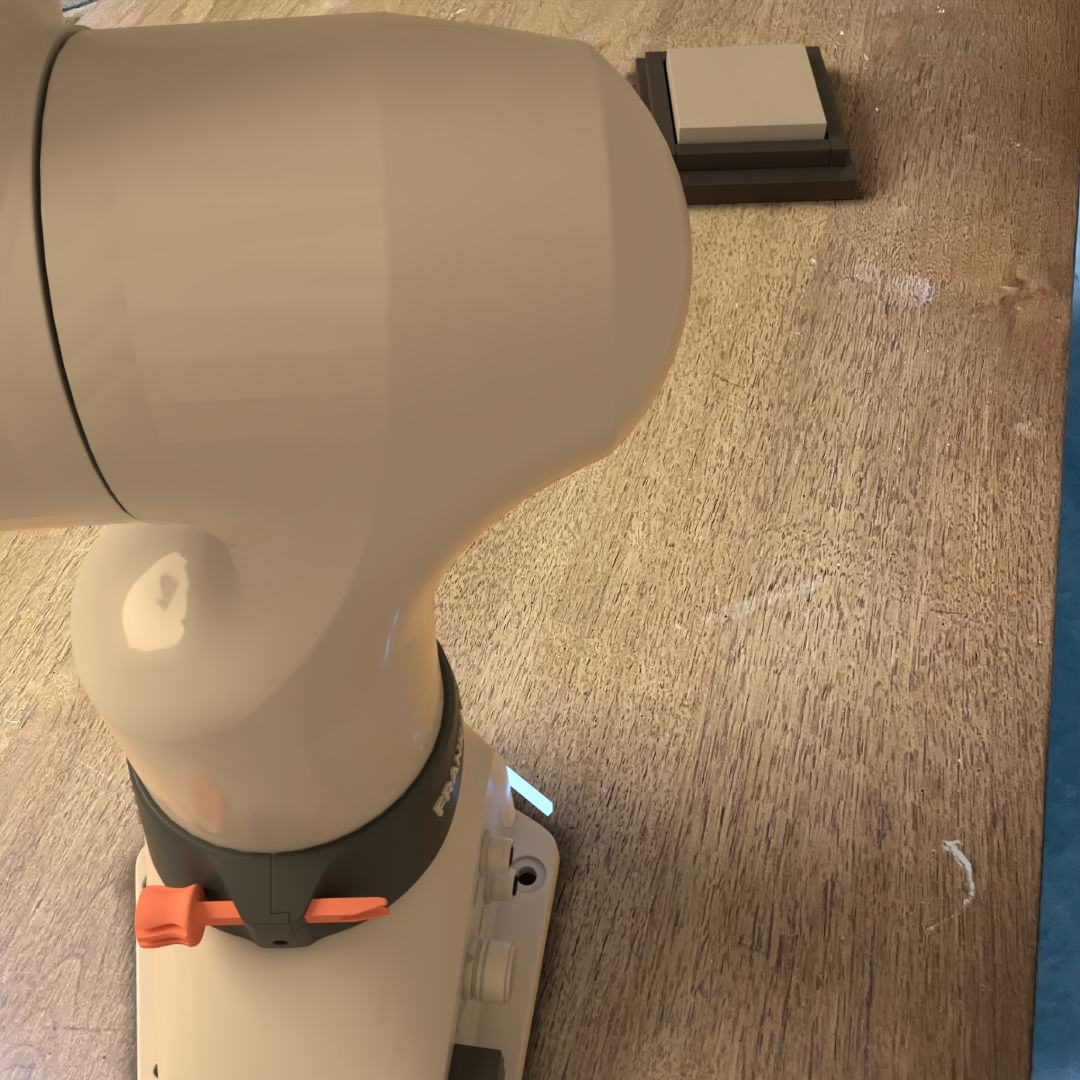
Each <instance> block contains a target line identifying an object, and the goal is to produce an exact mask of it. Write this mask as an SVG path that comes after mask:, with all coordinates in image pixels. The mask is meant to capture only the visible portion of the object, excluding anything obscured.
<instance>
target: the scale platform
mask: <svg viewBox="0 0 1080 1080" xmlns="http://www.w3.org/2000/svg"><path fill="white" fill-rule="evenodd" d="M805 46H806V45H805V43H791V44H790V43H787V44H786V43H785V44H759V45H758V44H757V45H731V46H729V45H727V46H699V47H670V48H669V47H667V49H666V51H667V60H666V70H667V77H668V84H669V90H670V97H671V104H672V110H673V117H674V124H675V131H676V137H677V144H698V143H729V142H759V141H790V140H820V139H824V137H825V131H826V126H827V122H826V118H825V115H824V111H823V107H822V104H821V100H820V97H819V93H818V90H817V86H816V83H815V79H814V76H813V72H812V69H811V65H810V61H809V58H808V54H807V51H806V47H805Z"/></svg>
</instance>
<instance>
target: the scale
mask: <svg viewBox="0 0 1080 1080" xmlns="http://www.w3.org/2000/svg"><path fill="white" fill-rule="evenodd" d="M805 47H806V51H807V54H808V58H809V61H810V65H811V69H812V72H813V76H814V79H815V83H816V86H817V90H818V93H819V97H820V100H821V104H822V107H823V111H824V115H825V118H826V122H827V126H826V131H825V137H824V139H820V140H790V141H759V142H729V143H698V144H677V137H676V131H675V124H674V117H673V110H672V104H671V97H670V90H669V84H668V77H667V70H666V60H667V50H662V51H661V50H659V51H655V50H654V51H645V52H644V57H636V58H635V63H634V64H635V65H634V67H635V68H634V80H635V88H636V93H637V94H638V96H639V97H640V98H641V100H642V101H643V103H644V104H645V106H646V107H647V109H648V110H649V111H650V113H651V115H652V116H653V118H654V120H655V122H656V124H657V126H658V128H659V129H660V131H661V133H662V135H663V137H664V139H665V141H666V142H667V145H668V147H669V150H670V152H671V155H672V157H673V160H674V162H675V165H676V167H677V170H678V173H679V176H680V179H681V183H682V187H683V191H684V195H685V199H686V203H687V205H708V204H709V205H711V204H739V203H740V204H742V203H744V204H745V203H770V202H771V203H773V202H803V201H834V200H835V201H837V200H854V199H855V195H856V190H857V186H858V182H859V179H858V176H857V173H856V168H855V165H854V162H853V159H852V155H851V152H850V146H849V142H848V139H847V136H846V132H845V129H844V126H843V123H842V120H841V115H840V112H839V109H838V106H837V102H836V99H835V95H834V91H833V88H832V85H831V82H830V78H829V75H828V72H827V69H826V65H825V62H824V58H823V55H822V52H821V48H820V46H819V45H812V46H811V45H810V46H808V45H807V46H806V45H805Z"/></svg>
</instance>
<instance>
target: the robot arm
mask: <svg viewBox="0 0 1080 1080" xmlns="http://www.w3.org/2000/svg"><path fill="white" fill-rule="evenodd" d="M692 241H693V239H692V228H691V219H690V213H689V208H688V204H687V203H686V199H685V195H684V191H683V187H682V183H681V179H680V176H679V173H678V170H677V167H676V165H675V162H674V160H673V157H672V155H671V152H670V150H669V147H668V145H667V142H666V141H665V139H664V137H663V135H662V133H661V131H660V129H659V128H658V126H657V124H656V122H655V120H654V118H653V116H652V115H651V113H650V111H649V110H648V109H647V107H646V106H645V104H644V103H643V101H642V100H641V98H640V97H639V96H638V94H637V90H635V88H634V87H633V86H632V84H630V82H628V80H627V79H626V78H625V76H623V74H622V73H621V72H620V71H619V70H618V69H617V68H616V67H615V65H614V64H613V63H612V62H610V61H609V60H608V59H607V57H606V56H604V55H603V54H602V53H601V52H600V51H599V50H597V49H596V47H594V46H593V45H592V44H590V43H589V42H588V41H585V40H578V39H573V38H567V37H562V36H557V35H549V34H544V33H537V32H533V31H527V30H521V29H516V28H509V27H503V26H497V25H492V24H487V23H478V22H472V21H471V22H470V21H462V20H453V19H447V18H437V17H430V16H424V15H423V16H421V15H415V14H406V13H398V12H392V11H391V12H390V11H385V10H383V11H369V12H353V13H338V14H336V13H335V14H322V15H321V14H320V15H304V16H287V17H270V18H253V19H237V20H223V21H208V22H207V21H206V22H193V23H192V22H191V23H175V24H173V23H172V24H159V25H144V26H143V25H142V26H141V25H140V26H128V27H127V26H124V27H110V28H92V27H89V26H87V25H83V24H70V23H67V22H66V19H65V15H64V11H63V6H62V2H61V0H0V533H10V532H11V533H12V532H22V531H23V532H24V531H25V532H26V531H38V530H39V531H40V530H51V529H52V530H53V529H65V528H66V529H67V528H81V527H93V526H95V527H96V526H106V527H105V528H104V529H103V531H102V532H101V534H100V535H99V537H98V538H97V540H96V541H95V542H94V544H93V545H92V547H91V549H90V551H89V552H88V554H87V556H86V558H85V559H84V562H83V564H82V566H81V569H80V571H79V574H78V577H77V580H76V583H75V586H74V590H73V593H72V599H71V606H70V607H71V608H70V626H69V627H70V628H69V629H70V643H71V652H72V657H73V662H74V666H75V670H76V673H77V676H78V679H79V680H80V684H81V686H82V687H83V690H84V692H85V694H86V696H87V697H88V699H89V700H90V702H91V704H92V705H93V707H94V708H95V710H96V712H97V713H98V714H99V716H100V717H101V719H102V721H103V722H104V724H105V725H106V726H107V728H108V730H109V731H110V733H111V735H112V737H113V738H114V739H115V741H116V743H117V744H118V746H119V748H120V749H121V751H122V753H123V754H124V755H125V759H126V765H127V769H128V777H129V786H130V793H131V798H132V799H133V803H134V804H133V807H134V811H135V815H136V818H137V822H138V825H141V826H142V829H143V833H144V834H143V836H144V846H143V847H142V848H141V849H140V851H139V852H138V855H137V857H136V861H135V866H134V867H135V868H134V869H135V871H134V872H135V873H134V875H135V877H134V879H135V914H134V929H135V930H134V932H135V933H134V934H135V968H136V969H135V971H136V972H135V977H136V1067H137V1068H136V1071H137V1074H136V1076H137V1079H136V1080H523V1074H524V1068H525V1064H526V1063H525V1062H526V1057H527V1051H528V1045H529V1039H530V1034H531V1029H532V1023H533V1017H534V1010H535V1006H536V1000H537V994H538V987H539V982H540V978H541V971H542V966H543V961H544V960H543V959H544V956H545V955H544V954H545V949H546V942H547V937H548V931H549V926H550V920H551V915H552V909H553V903H554V897H555V892H556V885H557V880H558V875H559V868H560V862H561V861H560V852H559V849H558V848H559V847H558V844H557V842H556V839H555V837H554V836H553V835H552V834H551V832H550V831H549V830H548V829H547V828H546V827H544V826H543V825H541V824H540V823H539V822H537V821H536V820H534V819H532V818H531V817H530V816H528V815H526V814H525V813H523V812H521V811H520V810H518V809H516V808H515V804H514V803H515V802H514V798H513V793H512V788H513V789H514V790H516V792H517V793H519V794H520V795H522V797H524V798H525V799H526V800H527V801H529V803H531V804H532V805H534V806H535V808H537V809H539V811H541V812H542V813H543V814H544V815H546V816H547V817H549V815H551V814H552V813H553V802H552V801H551V800H549V799H548V798H547V797H546V796H544V795H543V794H542V793H541V792H539V790H538V789H536V788H535V787H533V786H532V785H531V784H530V783H529V782H527V781H526V780H525V779H524V778H522V777H521V776H520V775H519V774H518V773H516V772H515V771H514V770H513V769H512V768H510V767H509V766H508V765H507V763H506V759H505V757H503V755H501V754H500V753H498V752H497V749H496V748H495V747H493V745H491V744H490V743H488V741H487V740H485V739H484V737H482V736H481V735H480V734H479V733H478V732H476V731H475V729H473V728H472V727H471V726H470V725H469V724H468V723H467V722H466V721H465V719H464V718H465V717H464V715H463V714H461V711H463V708H464V707H463V702H462V697H461V692H460V689H459V685H458V682H457V679H456V674H455V672H454V670H453V668H452V666H451V664H450V661H449V659H448V657H447V655H446V653H445V650H444V648H443V646H442V644H441V643H440V641H439V639H438V637H437V633H436V590H437V588H438V586H439V584H440V583H441V581H442V579H443V578H444V577H445V575H446V573H448V571H449V570H450V569H451V568H452V566H454V564H455V563H456V561H457V560H458V559H459V557H460V556H462V555H463V553H464V552H465V551H466V550H467V549H468V548H469V547H470V546H471V545H472V544H473V543H475V541H477V539H478V538H479V537H480V536H481V535H482V534H483V533H484V532H485V531H487V530H488V529H489V528H490V527H492V526H493V525H494V524H495V523H496V522H497V521H498V520H500V519H501V518H502V517H504V516H505V515H507V514H508V513H509V512H510V511H512V510H513V509H514V508H516V507H517V506H519V505H521V504H522V503H523V502H524V501H526V500H528V499H529V498H531V497H533V496H534V495H536V494H537V493H539V492H542V491H543V490H544V489H546V488H548V487H549V486H550V485H553V484H555V483H557V482H558V481H560V480H563V479H564V478H566V477H568V476H570V475H573V474H574V473H576V472H578V471H581V470H583V469H584V468H587V467H588V466H590V465H592V464H595V463H596V462H599V461H601V460H603V459H606V458H608V457H609V456H610V455H612V454H613V453H614V452H615V451H616V450H617V449H618V448H619V446H621V444H622V443H623V442H625V440H627V438H628V437H629V436H630V435H631V433H632V432H633V431H634V429H635V428H636V427H637V426H638V424H639V423H640V422H641V420H642V419H643V417H644V416H645V415H646V413H647V412H648V410H649V409H650V407H651V406H652V405H653V404H652V403H653V402H654V400H655V399H656V397H657V395H658V394H659V392H660V390H661V388H662V387H663V385H664V383H665V380H666V379H667V376H668V374H669V372H670V370H671V367H672V366H673V364H674V361H675V358H676V355H677V352H678V349H679V347H680V342H681V340H682V336H683V333H684V330H685V327H686V322H687V316H688V311H689V304H690V300H691V294H692V283H693V242H692ZM524 874H531V875H533V876H534V877H535V881H534V882H533V883H531V884H527V885H525V884H522V883H520V881H519V878H520V877H521V876H522V875H524Z"/></svg>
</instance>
